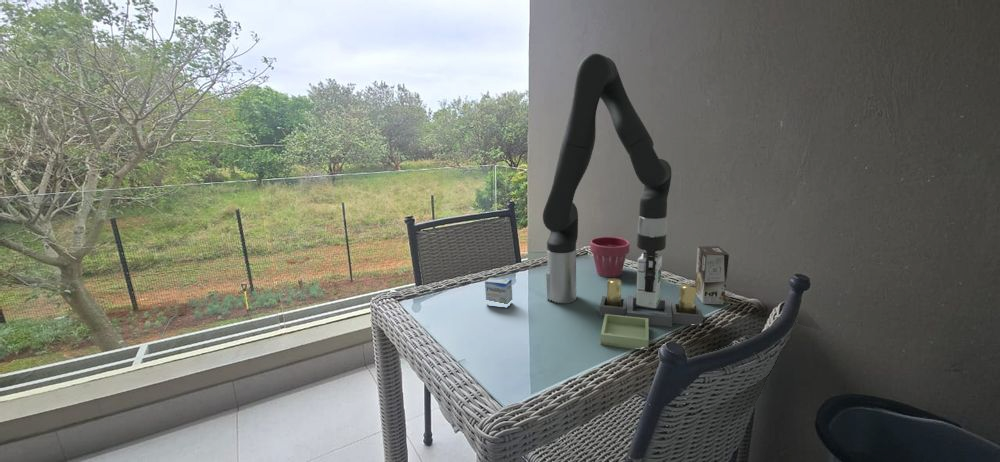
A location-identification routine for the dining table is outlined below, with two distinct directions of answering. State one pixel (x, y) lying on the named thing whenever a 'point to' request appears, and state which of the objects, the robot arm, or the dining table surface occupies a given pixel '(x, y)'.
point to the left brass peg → (614, 292)
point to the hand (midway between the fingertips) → (648, 286)
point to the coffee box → (711, 274)
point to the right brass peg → (687, 298)
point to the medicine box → (498, 290)
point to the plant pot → (609, 255)
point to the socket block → (653, 318)
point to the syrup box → (641, 296)
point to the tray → (625, 331)
